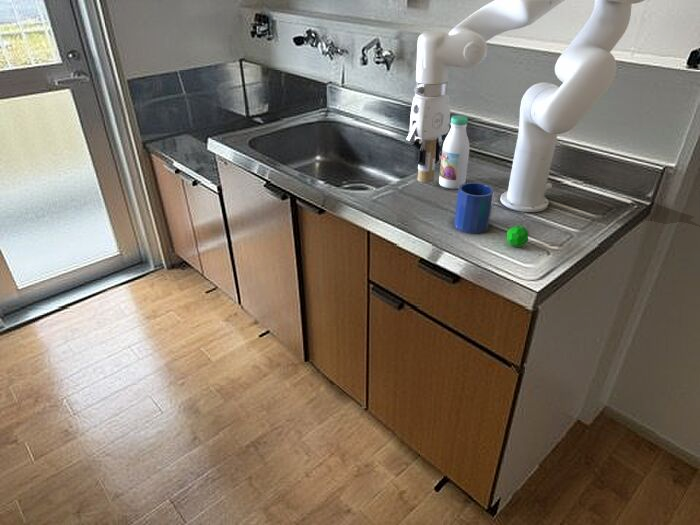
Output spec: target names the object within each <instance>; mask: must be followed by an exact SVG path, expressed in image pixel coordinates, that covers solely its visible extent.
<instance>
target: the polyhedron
mask: <svg viewBox="0 0 700 525" xmlns="http://www.w3.org/2000/svg"><path fill="white" fill-rule="evenodd" d="M506 242H507V243H508V244H509V245H510V246H511V247H515V248H519V247H522V246H524V245H526V244H527V243H528V242H529V231H528V229H526V228H525V227H524V226H521V225H515V226H512V227H510V228H509V229H508V230H507V232H506Z"/></svg>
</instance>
